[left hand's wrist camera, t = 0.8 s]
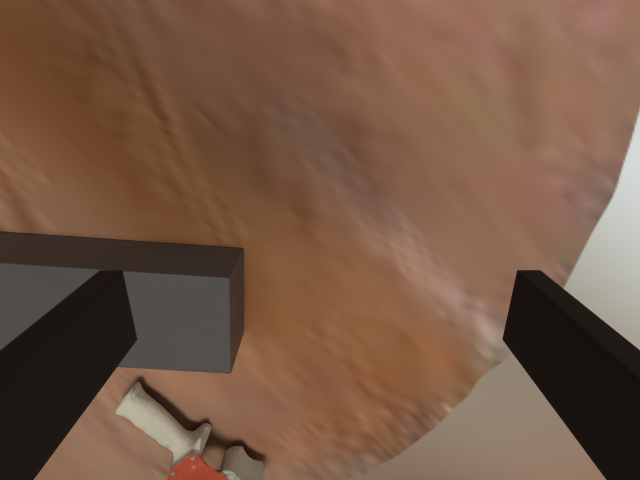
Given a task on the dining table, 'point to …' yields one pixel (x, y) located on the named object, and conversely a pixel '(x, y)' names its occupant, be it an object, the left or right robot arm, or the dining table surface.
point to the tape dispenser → (185, 442)
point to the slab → (134, 294)
